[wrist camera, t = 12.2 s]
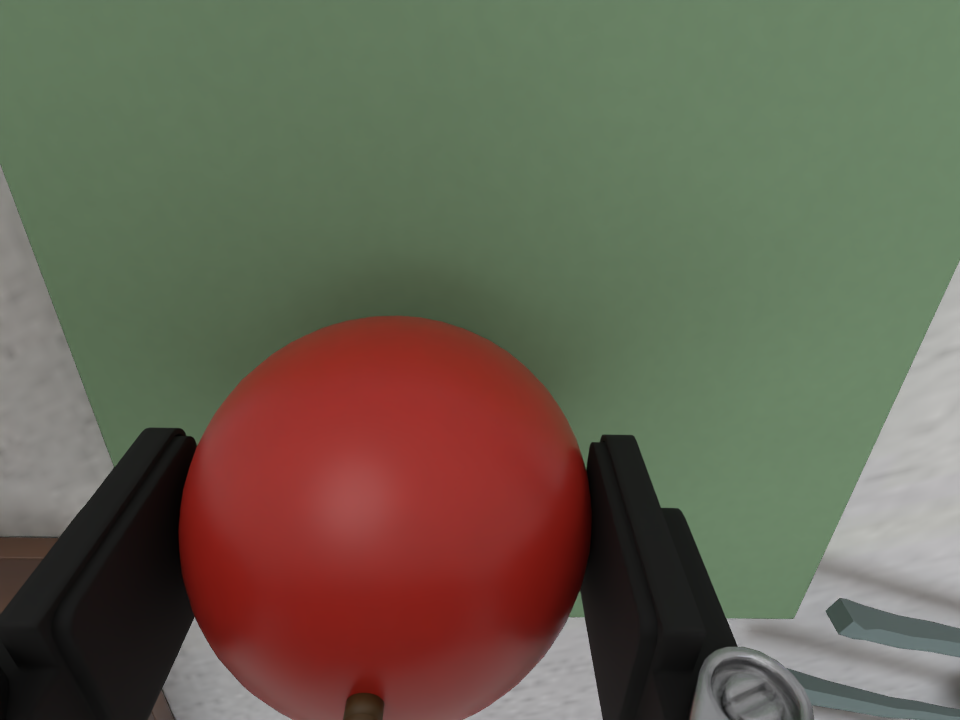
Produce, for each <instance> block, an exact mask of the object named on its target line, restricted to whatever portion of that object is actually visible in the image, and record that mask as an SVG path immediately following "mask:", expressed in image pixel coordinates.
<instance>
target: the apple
mask: <svg viewBox="0 0 960 720" xmlns="http://www.w3.org/2000/svg"><path fill="white" fill-rule="evenodd" d="M591 525H592V507H591V498H590V489H589V482H588V475H587V471H586V468H585V464H584V461H583V457H582V454H581V451H580V448H579V445H578V442H577V439H576V437H575V435H574V433H573V431H572V429H571V427H570V424H569V422H568V420H567V418H566V417H565V415H564V413H563V412H562V410H561V408H560V407H559V405H558V404H557V402H556V401H555V400H554V398H553V397H552V395H551V394H550V392H549V391H548V389H547V388H546V387H545V386H544V385H543V384H542V383H541V382H540V381H539V380H538V379H537V378H536V377H535V376H534V374H533V373H532V372H531V371H530V370H529V369H528V368H527V367H526V366H525V365H523V364H522V363H521V362H520V361H518V360H517V359H516V358H515V357H514V356H512V355H511V354H510V353H509V352H507V351H506V350H504V349H503V348H501V347H499V346H498V345H496V344H494V343H493V342H491V341H490V340H488V339H486V338H484V337H481V336H479V335H477V334H475V333H473V332H470V331H468V330H466V329H463V328H461V327H457V326H454V325H451V324H448V323H445V322H442V321H437V320H431V319H426V318H421V317H410V316H375V317H366V318H360V319H354V320H348V321H344V322H340V323H337V324H333V325H330V326H327V327H323V328H321V329H319V330H317V331H314V332H312V333H310V334H307V335H305V336H303V337H301V338H299V339H297V340H295V341H293V342H291V343H289V344H288V345H286V346H285V347H283V348H281V349H280V350H278V351H276V352H275V353H273V354H272V355H271V356H269V357H268V358H267V359H266V360H265V361H263V362H262V363H261V364H260V365H259V366H258V367H256V368H255V369H254V370H253V371H252V372H250V373H249V374H248V375H247V376H246V377H245V378H243V379H242V380H241V382H240V383H239V384H238V385H237V386H236V387H235V389H234V390H233V391H232V392H231V393H230V394H229V396H228V397H227V398H226V399H225V401H224V402H223V403H222V405H221V406H220V407H219V409H218V410H217V411H216V413H215V414H214V416H213V418H212V420H211V421H210V423H209V425H208V426H207V428H206V430H205V432H204V434H203V436H202V438H201V440H200V442H199V444H198V446H197V448H196V450H195V453H194V456H193V459H192V461H191V464H190V467H189V470H188V474H187V477H186V481H185V485H184V488H183V494H182V501H181V507H180V518H179V530H178V534H179V552H180V562H181V571H182V576H183V580H184V584H185V588H186V592H187V595H188V598H189V601H190V605H191V608H192V611H193V613H194V616H195V618H196V620H197V622H198V625H199V627H200V629H201V630H202V632H203V634H204V636H205V638H206V639H207V641H208V643H209V645H210V646H211V648H212V649H213V651H214V652H215V654H216V655H217V657H218V658H219V660H220V661H221V662H222V663H223V664H224V665H225V666H226V668H227V669H228V670H229V671H230V672H231V673H232V674H233V675H234V677H235V678H236V679H237V680H238V681H239V682H240V683H241V684H242V685H243V686H244V687H245V688H246V689H247V690H248V691H249V692H251V693H252V694H253V695H254V696H256V697H257V698H259V699H260V700H262V701H263V702H265V703H266V704H267V705H269V706H270V707H272V708H274V709H275V710H277V711H278V712H280V713H281V714H283V715H285V716H287V717H289V718H291V719H292V720H463V719H465V718H467V717H469V716H471V715H474V714H476V713H478V712H479V711H481V710H483V709H484V708H486V707H488V706H489V705H491V704H492V703H493V702H495V701H496V700H498V699H499V698H500V697H502V696H503V695H505V694H506V693H507V692H509V691H510V690H511V689H512V688H514V687H515V686H516V685H517V684H519V682H520V681H521V680H522V679H523V678H524V677H525V676H526V675H527V674H528V673H529V672H530V671H531V670H532V669H533V668H534V667H535V666H536V664H537V663H538V662H539V661H540V660H541V659H542V658H543V657H544V656H545V654H546V653H547V651H548V650H549V648H550V647H551V646H552V644H553V643H554V641H555V640H556V638H557V636H558V635H559V633H560V632H561V630H562V629H563V627H564V625H565V624H566V621H567V619H568V617H569V615H570V613H571V611H572V609H573V606H574V604H575V601H576V599H577V596H578V594H579V592H580V589H581V585H582V582H583V578H584V574H585V570H586V566H587V561H588V557H589V552H590V541H591Z"/></svg>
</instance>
